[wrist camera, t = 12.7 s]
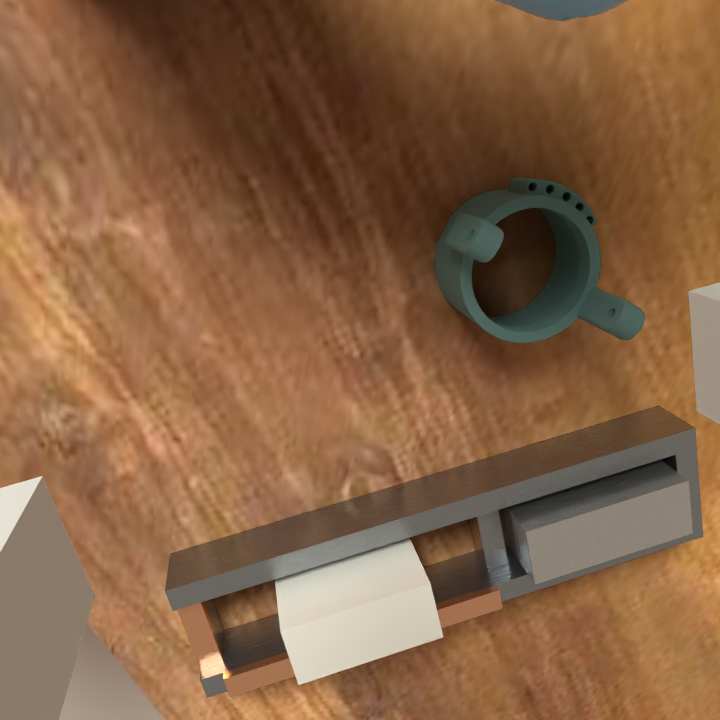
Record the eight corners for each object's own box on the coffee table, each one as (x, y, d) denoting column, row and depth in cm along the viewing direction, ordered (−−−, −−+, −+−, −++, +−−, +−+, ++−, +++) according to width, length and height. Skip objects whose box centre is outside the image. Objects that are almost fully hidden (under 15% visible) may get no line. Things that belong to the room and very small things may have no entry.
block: (271, 552, 47) (280, 631, 39) (398, 513, 48) (430, 583, 40) (287, 600, 48) (298, 685, 41) (410, 561, 49) (443, 637, 41)
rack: (170, 553, 45) (162, 612, 40) (659, 405, 49) (715, 440, 43) (208, 654, 48) (206, 722, 42) (668, 507, 52) (722, 552, 46)
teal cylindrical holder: (571, 303, 45) (651, 338, 37) (438, 336, 44) (488, 381, 36) (557, 163, 42) (640, 167, 34) (414, 195, 41) (463, 207, 33)
